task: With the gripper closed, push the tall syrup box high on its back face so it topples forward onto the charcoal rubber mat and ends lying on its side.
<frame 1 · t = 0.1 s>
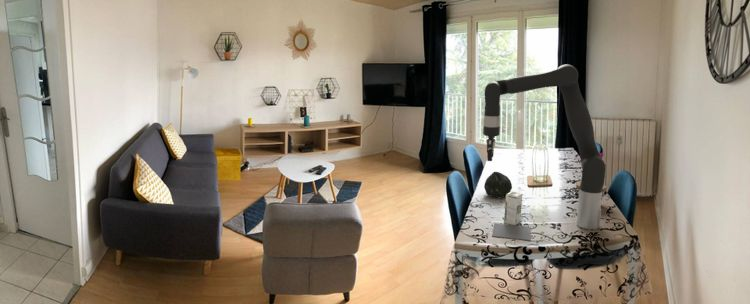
hand: (490, 158, 222), 29 cm above the table, tool pointing down, fingers open, 8 cm apart
squash: (497, 196, 258), on the table
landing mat: (511, 232, 210), on the table
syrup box: (512, 223, 221), on the table
flowerpot: (589, 204, 244), on the table
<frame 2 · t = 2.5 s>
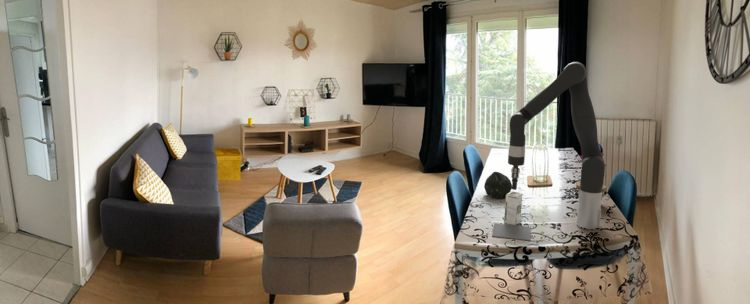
hand: (514, 189, 227), 13 cm above the table, tool pointing down, fingers closed
nothing on the table moved.
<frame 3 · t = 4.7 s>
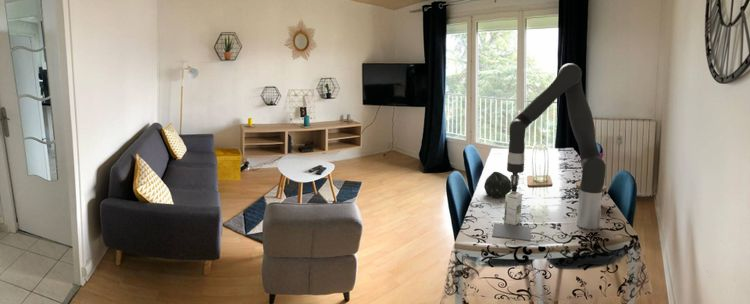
hand: (513, 196, 223), 11 cm above the table, tool pointing down, fingers closed
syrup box: (512, 222, 221), on the table, touching gripper
everything else where it was.
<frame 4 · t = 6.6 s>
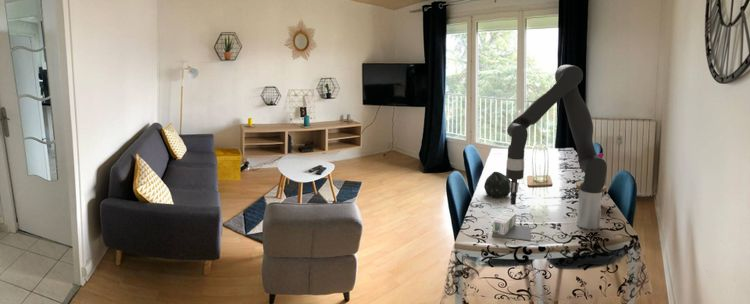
hand: (513, 204, 213), 11 cm above the table, tool pointing down, fingers closed
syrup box: (510, 217, 218), point 3 cm above the table, touching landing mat
everything else where it was.
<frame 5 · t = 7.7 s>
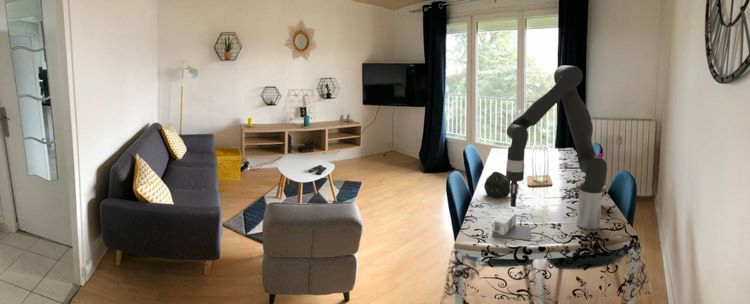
hand: (513, 206, 211), 11 cm above the table, tool pointing down, fingers closed
nothing on the table moved.
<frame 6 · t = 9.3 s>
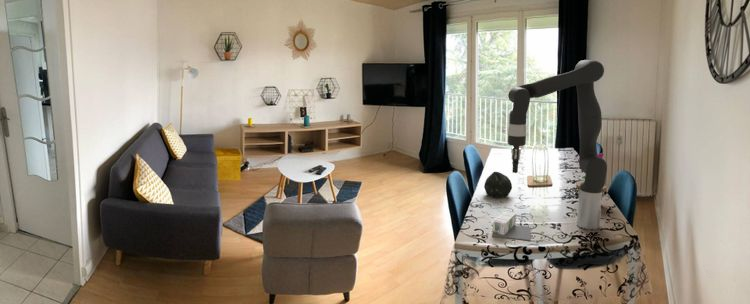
hand: (515, 172, 207), 27 cm above the table, tool pointing down, fingers closed
nothing on the table moved.
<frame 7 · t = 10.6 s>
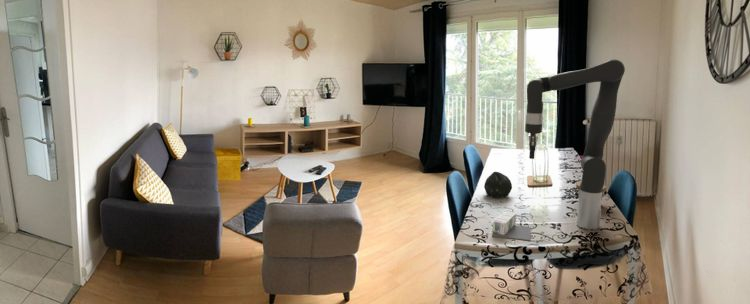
hand: (531, 158, 222), 29 cm above the table, tool pointing down, fingers closed
nothing on the table moved.
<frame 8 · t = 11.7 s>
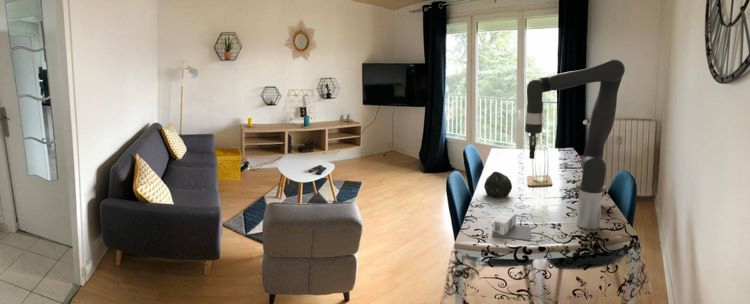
hand: (531, 158, 222), 29 cm above the table, tool pointing down, fingers closed
nothing on the table moved.
at the end: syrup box tilted 90°; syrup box inside the target area (7.8 cm from its centre), point 3.3 cm above the table; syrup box touching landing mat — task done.
